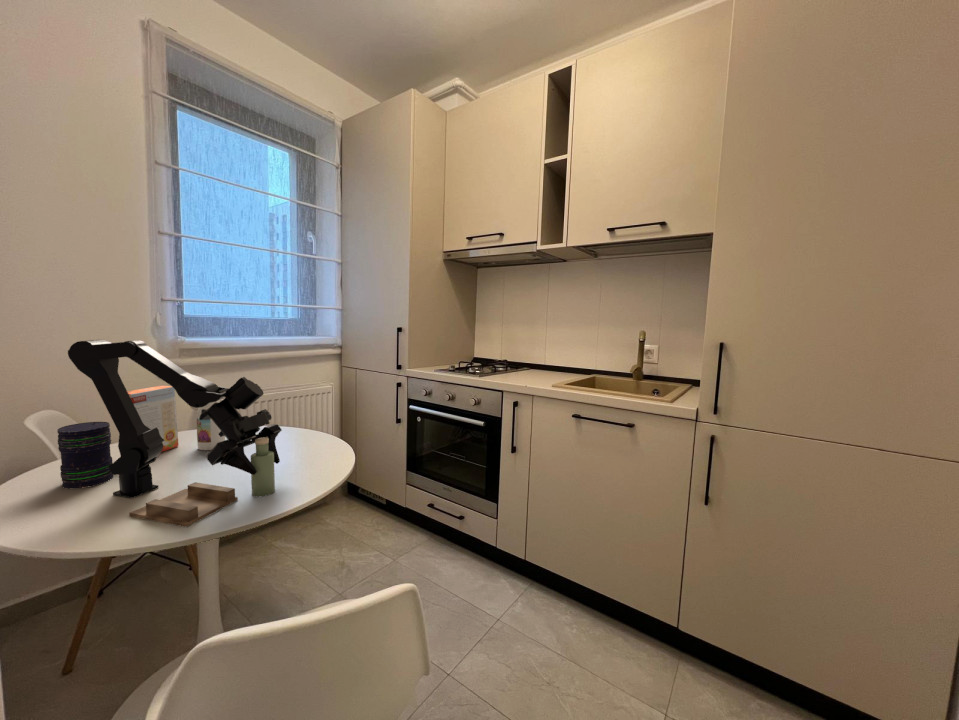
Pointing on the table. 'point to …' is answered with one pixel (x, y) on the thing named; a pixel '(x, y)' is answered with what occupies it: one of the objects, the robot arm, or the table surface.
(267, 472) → the olive bottle
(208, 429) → the milk bottle
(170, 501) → the walnut U-rest
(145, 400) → the cracker box
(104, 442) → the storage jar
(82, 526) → the table surface
